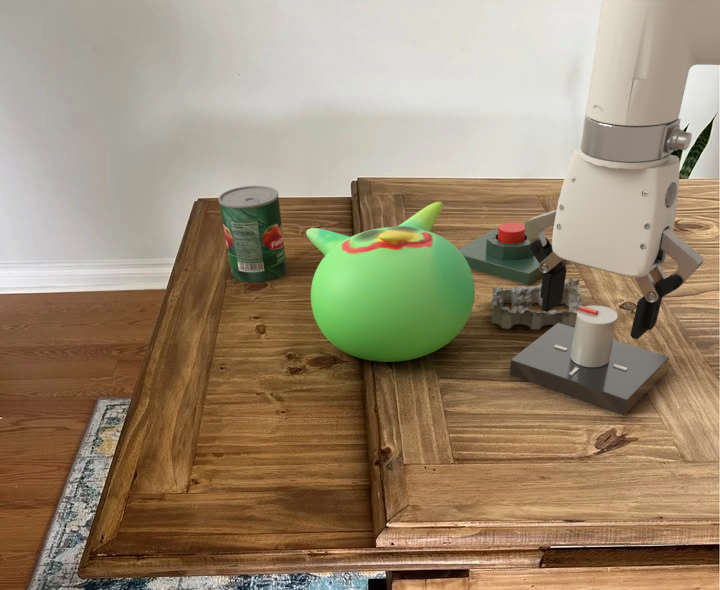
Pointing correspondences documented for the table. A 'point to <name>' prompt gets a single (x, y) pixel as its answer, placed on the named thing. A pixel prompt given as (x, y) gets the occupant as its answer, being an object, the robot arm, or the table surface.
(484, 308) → the table surface
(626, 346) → the dial base plate
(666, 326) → the table surface
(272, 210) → the canned tomato
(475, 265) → the button housing
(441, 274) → the toy bird
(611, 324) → the knob
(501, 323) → the egg carton
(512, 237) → the button
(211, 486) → the table surface
